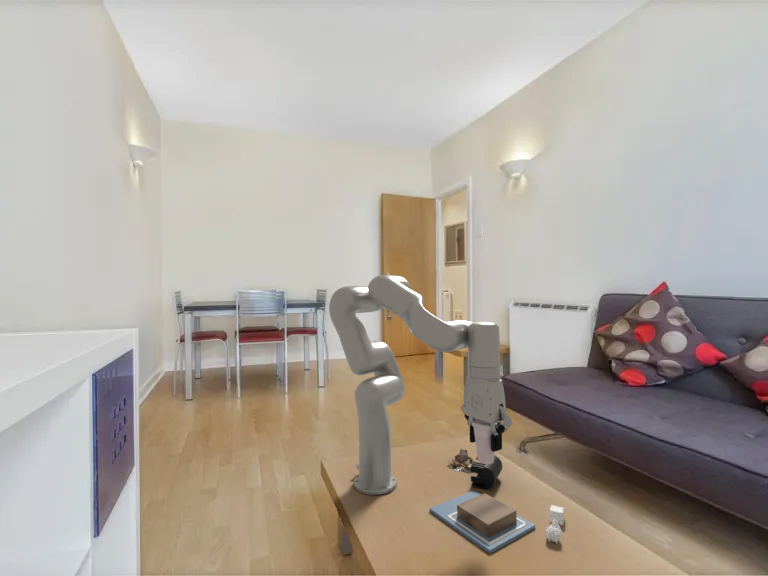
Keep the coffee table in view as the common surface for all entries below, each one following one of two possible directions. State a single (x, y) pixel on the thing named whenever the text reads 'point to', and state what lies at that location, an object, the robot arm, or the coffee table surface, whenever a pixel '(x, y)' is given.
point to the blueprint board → (491, 544)
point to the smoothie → (483, 441)
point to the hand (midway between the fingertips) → (485, 445)
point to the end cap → (485, 473)
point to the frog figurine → (462, 461)
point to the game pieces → (555, 524)
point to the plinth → (486, 514)
